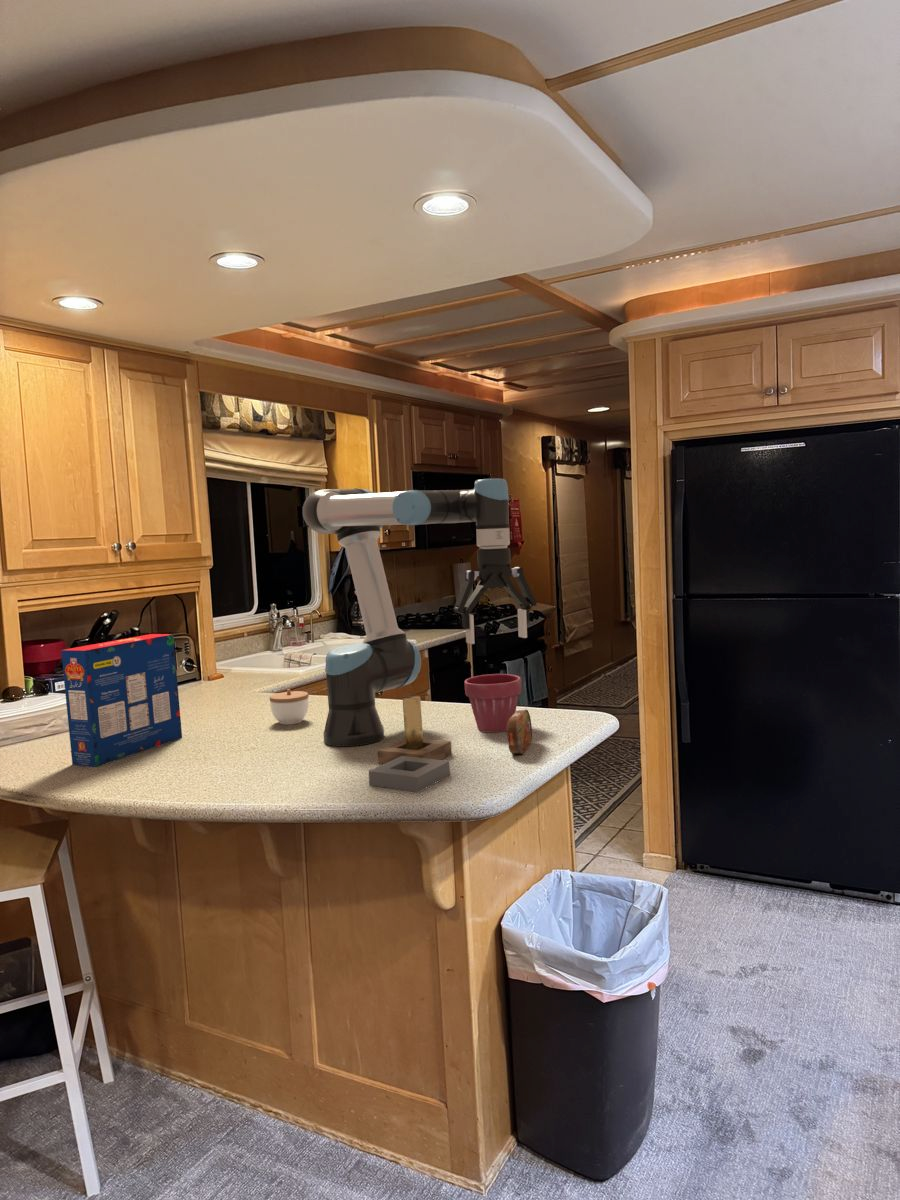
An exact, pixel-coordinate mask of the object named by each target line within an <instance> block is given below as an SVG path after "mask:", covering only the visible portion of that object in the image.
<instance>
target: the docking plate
mask: <svg viewBox="0 0 900 1200" xmlns="http://www.w3.org/2000/svg"><path fill="white" fill-rule="evenodd" d="M450 765H451V764H450V760H445V759H444V760H443V759H441V760H436V759H427V758H418V757H408V756H400V757H398V758H396V759H394V760H392V761H389V762H387V763H385V764H381V765H379V766H377V767H375V768H372V769H370V770H368V783H369V784H368V785H369V786H370V785H372V786H371V787H376V786H379V787H378V788H384V787H387V788H386V789H391V788H394V789H393V790H399V789H400V791H406V790H407V792H414V791H415V792H414V793H420V792H421V790H422V791H424V790H426V789H427V788H429V787H431V786H432V784H433V785H435V784H436V783H438V782H440V781H442V780H444V779H446V778H447V777H449V776H451V767H450ZM445 777H446V778H445ZM443 778H444V779H443ZM441 779H442V780H441ZM439 780H440V781H439ZM437 781H438V782H437ZM435 782H436V783H435ZM434 783H435V784H434ZM430 785H431V786H430ZM428 786H429V787H428ZM426 787H427V788H426ZM425 788H426V789H425ZM423 789H424V790H423Z"/></svg>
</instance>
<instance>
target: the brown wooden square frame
mask: <svg viewBox="0 0 900 1200" xmlns="http://www.w3.org/2000/svg"><path fill="white" fill-rule="evenodd" d="M376 751H377V764H379V765H380V764H381V765H383V764H385V763H387V762H389V761H392V760H394V759H396V758H398V757H400V756H408V757H418V758H427V759H436V760H443V759H445V758H447V757H449V756H451V755H452V754H453V753H452V751H453V750H452V741H451V740H441V739H432V738H431V739H429V738H423V748H422V749H420V750H411V749H406V745H405V737H404V738H402V739H400V740H398V741H395V742H393V743H390V744H389V745H386V746H384V747H381V748H379V749H377V750H376Z"/></svg>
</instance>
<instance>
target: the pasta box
mask: <svg viewBox="0 0 900 1200" xmlns="http://www.w3.org/2000/svg"><path fill="white" fill-rule="evenodd" d="M60 652H61V663H62V672H63V685H64V693H65V702H66V703H65V705H66V713H67V722H68V723H67V724H68V735H69V743H70V753H71V754H70V755H71V763H72V765H73V766H79V767H81V766H82V767H90V768H98V767H101V766H103V765H106V764H109V763H113V762H115V761H118V760H119V761H120V760H121V759H124V758H127V757H130V756H133V755H135V754H138V753H141V752H146V751H147V750H151V749H154V748H156V747H160V746H162V745H166V744H168V743H171V742H174V741H177V740H181V739H183V732H182V720H181V718H182V717H181V711H180V710H181V708H180V698H179V697H180V696H179V687H178V674H177V663H176V654H175V653H176V650H175V640H174V634H173V633H170V634H169V633H163V634H162V633H149V634H144V635H140V636H133V637H128V638H127V637H126V638H121V639H116V640H112V641H111V640H110V641H106V642H101V643H95V644H88V645H82V646H76V647H72V648H67V649H61V650H60Z"/></svg>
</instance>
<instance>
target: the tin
mask: <svg viewBox="0 0 900 1200" xmlns="http://www.w3.org/2000/svg"><path fill="white" fill-rule="evenodd" d="M531 719H532V718H531V714H530V712H529V710H528V709H522V710H516V712H515V713H514V714H513V715H512V716H511V717H510V718H509V720H508V722H507V730H506V734H507V735H506V736H507V742H508V750H509V752H510V753H511V754H512V755H524V754H525V753H526V751H527V750H528V748H529V747H530V746H531V744H532V739H533V730H532V729H533V728H532V727H533V725H532V720H531Z"/></svg>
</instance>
